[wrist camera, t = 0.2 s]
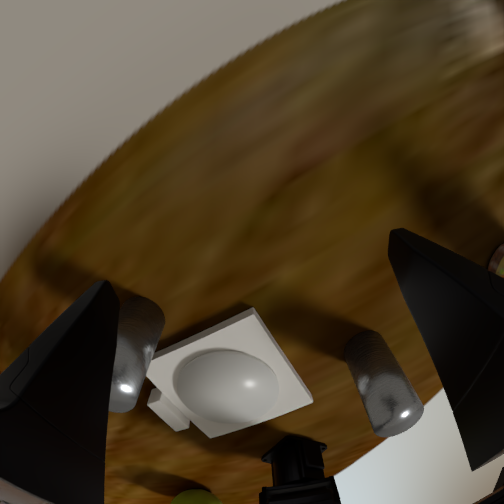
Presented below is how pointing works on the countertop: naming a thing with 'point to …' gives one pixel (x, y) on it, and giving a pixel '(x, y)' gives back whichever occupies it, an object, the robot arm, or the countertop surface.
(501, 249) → the sauce bottle
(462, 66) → the countertop surface
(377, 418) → the cylinder
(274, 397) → the scale
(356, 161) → the countertop surface
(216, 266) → the countertop surface
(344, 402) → the countertop surface
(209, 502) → the fruit
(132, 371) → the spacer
